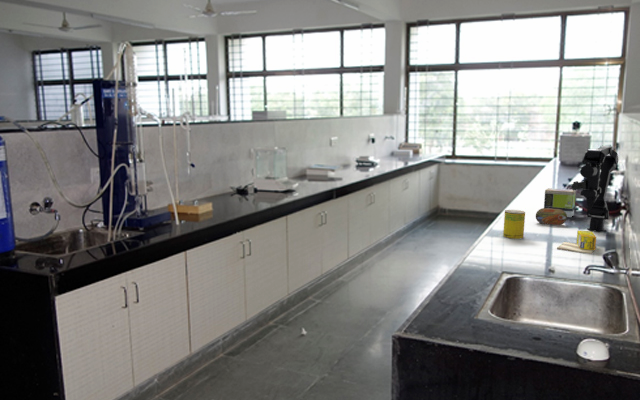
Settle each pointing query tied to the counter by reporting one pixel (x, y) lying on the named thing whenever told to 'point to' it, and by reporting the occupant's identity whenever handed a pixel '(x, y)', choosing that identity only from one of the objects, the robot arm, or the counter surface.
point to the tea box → (560, 200)
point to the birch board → (574, 248)
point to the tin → (551, 216)
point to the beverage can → (514, 224)
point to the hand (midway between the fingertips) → (589, 209)
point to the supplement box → (586, 240)
